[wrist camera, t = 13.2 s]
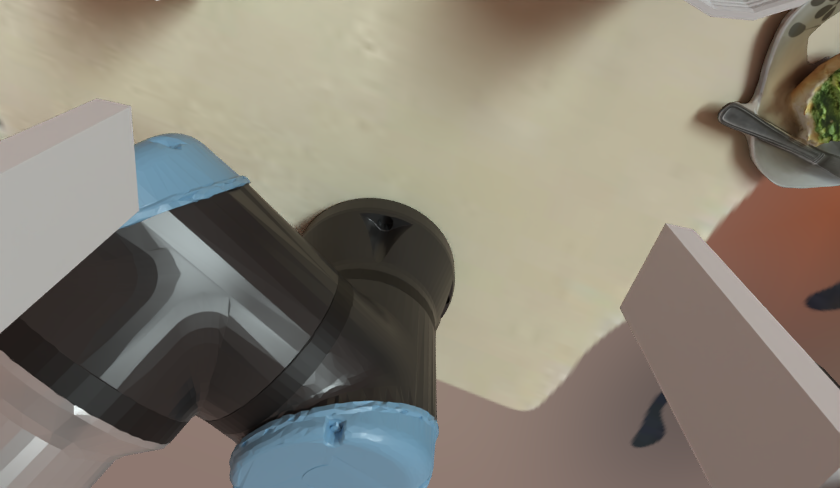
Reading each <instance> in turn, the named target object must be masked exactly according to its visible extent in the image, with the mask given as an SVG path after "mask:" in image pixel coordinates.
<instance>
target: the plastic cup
mask: <svg viewBox="0 0 840 488" xmlns="http://www.w3.org/2000/svg"><path fill="white" fill-rule="evenodd" d="M684 1H686V2H688V3H689V4H691V5H692V6H694V7H696V8H697V9H699V10H701V11H702V12H704V13H705V14H707V15H709V16H710V17H720V18H732V19H743V20H756V19H759V18H763V17H766V16H769V15H773V14H776V13H779V12H783V11H786V10H789V9H793V8H796V7H799V6H801V5H803V4H804V3H806V2H807V1H809V0H684Z"/></svg>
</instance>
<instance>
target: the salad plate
mask: <svg viewBox="0 0 840 488" xmlns="http://www.w3.org/2000/svg"><path fill="white" fill-rule="evenodd" d="M839 11H840V0H809V1H807V2H806V3H804V4H803V5H801V6H799V7H796V8H793V9H792V10H791V11H790V12H789V13H787V14H786V15H785V17H784V18H783V19H782V21H781V23H780V25H779V27H778V29H777V31H776V33H775V35H774V38H773V40H772V42H771V44H770V46H769V49H768V52H767V54H766V57H765V60H764V63H763V66H762V69H761V73H760V78H759V82H758V85H757V87H756V90H755V93H754V95H753V97H752V99H751V101H750V102H749V103H747V104H741V103H739V102H730V103H728V104H726V105H725V106H724V107H723V108H722V109H721V110H720V112H719V113H718V121H719V122H720V123H721V124H723V125H725V126H727V127H730V128H732V129H735V130H737V131H740V132H741V133H743V134H745V136H746V138H747V141H748V145H749V151H750V156H751V160H752V161H753V163H754V164H755V165H756V166H757V168H758V169H759V170H760V172H761V173H762V174H763V175H764V176H765V177H767V178H768V179H769V180H770V181H771V182H773V183H774V184H776V185H778V186H781V187H789V188H812V187H826V186H839V185H840V54H838V55H835V56H834V57H832V58H829V57H826V58H823V59H822V60H820V61H819V62H817V63H815V64H809V62H808V61H807V44H808V38H809V36H810V35H811V34H812V33H813V32H814V31H815V30H816V29H817V28H818V27H819V26H820V25H821V24H822V23H824V22H825V21H826V20H827V19H829V18H830V17H832V16H833V15H835V14H836V13H838V12H839Z"/></svg>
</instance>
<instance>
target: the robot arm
mask: <svg viewBox="0 0 840 488" xmlns="http://www.w3.org/2000/svg"><path fill="white" fill-rule="evenodd" d="M249 183H251V182H250V181H249V179H248V178H247V177H245V176H239V175H238V174H237V173H236V172H235V171H233V170H232V169H231V168H230V167H229V166H228V165H227V164H225V163H224V162H223V161H222V160H221V159H220V158H218V157H217V156H216V155H215V154H214V153H213V152H212V151H211V150H209V149H208V148H207V147H206V146H205V145H204V144H203V143H201V142H200V141H198V140H197V139H195V138H193V137H190V136H188V135H184V134H178V133H168V134H162V135H158V136H154V137H151V138H149V139H146V140H144V141H141V142H139V143H137V144H135V145H134V138H133V125H132V112H131V106H129V105H125V104H120V103H115V102H111V101H106V100H102V99H97V98H96V99H94V100H92V101H89V102H87V103H85V104H83V105H80V106H78V107H76V108H74V109H71V110H69V111H67V112H65V113H62V114H60V115H58V116H56V117H53V118H51V119H49V120H47V121H44V122H42V123H40V124H38V125H35V126H33V127H31V128H29V129H26V130H24V131H22V132H20V133H17V134H15V135H13V136H10V137H8V138H6V139H4V140H1V141H0V488H91V487H92V486H93V485H94V484H95V482H96V481H97V480H98V479H99V478H100V477H101V476H102V474H103V473H104V472H105V471H106V470H107V469H108V468H109V467H110V466H111V464H113V462H114V461H115V460H117V459H119V458H121V457H124V456H127V455H133V454H138V453H143V452H149V451H154V450H159V449H163V448H165V446H166V445H168V444H169V443H170V442H171V441H172V440H173V439H174V438H175V436H176V435H177V434H178V433H179V432H180V431H181V429H182V428H183V427H184V426H185V425H186V424H187V423H188V422H189V420H190V419H191V418H192V417H194V416H195V415H196V416H198V417H200V418H201V419H203V420H205V421H206V422H208V423H209V424H211V425H212V426H214V427H215V428H216V429H218V430H219V431H221V432H222V433H223V434H225V435H226V436H228V437H229V438H230V439H232V440H233V441H234V442H235V443H236V444H237V445H236V447H235V449H234V451H233V452H232V455H231V458H230V462H229V463H230V468H231V470H230V481H231V483H232V485H233V488H427V486H428V484H429V481H430V478H431V476H432V471H433V465H434V451H435V442H436V439H437V437H438V434H439V427H438V424H437V415H436V412H437V411H436V330H437V328H438V326H439V324H440V321H441V318H442V317H443V315H444V314H445V312H446V310H447V308H448V307H449V304H450V302H451V299H452V296H453V291H454V285H455V272H454V260H453V255H452V251H451V248H450V246H449V244H448V242H447V240H446V238H445V236H444V235H443V233H442V232H441V231H440V229H439V228H438V227H437V226H436V225H435V224H434V223H433V222H432V221H431V220H430V219H428V218H427V217H426V216H424V215H423V214H422V213H420V212H418V211H417V210H415V209H413V208H411V207H409V206H406V205H404V204H401V203H398V202H395V201H390V200H385V199H376V198H364V199H355V200H350V201H346V202H343V203H340V204H337V205H335V206H333V207H331V208H329V209H327V210H325V211H324V212H322V213H321V214H320V215H318V216H317V217H316V218H315V219H314V220H313V221H312V222H311V223H310V224H309V225H308V227H307V228H306V229H305V231H304V233H303V234H302V236H301V235H300V234H299V233H298V232H297V231H296V230H295V229H294V228H293V227H292V226H291V225H290V224H289V223H288V222H287V221H286V220H285V219H284V218H283V217H281V216H280V215H279V214H278V213H277V212H276V211H275V210H274V209H273V208H272V207H271V206H270V205H269V204H268V203H267V202H266V201H265V200H264V199H263V198H262V197H261V196H260V195H259V194H258V193H257V192H256V191H255V190H254V189H253V188H252V187H251V186H250V185H249ZM620 309H621V311H622V313H623V315H624V317H625V319H626V321H627V323H628V325H629V327H630V329H631V331H632V333H633V335H634V337H635V339H636V341H637V342H638V344H639V347H640V349H641V350H642V352H643V354H644V356H645V358H646V360H647V362H648V364H649V366H650V368H651V370H652V372H653V374H654V376H655V378H656V380H657V382H658V384H659V386H660V388H661V390H662V392H663V394H664V396H665V398H666V400H667V402H668V404H669V406H670V408H671V410H672V412H673V414H674V416H675V418H676V419H677V421H678V423H679V425H680V427H681V429H682V431H683V433H684V435H685V437H686V439H687V441H688V443H689V445H690V447H691V449H692V451H693V453H694V455H695V457H696V459H697V461H698V463H699V464H700V467H701V469H702V471H703V473H704V475H705V477H706V478H707V481H708V482H709V484H710V486H711V488H840V386H839V385H838V384H837V382H836V381H835V380H834V379H833V378H832V377H831V376H830V375H829V374H828V373H827V372H826V371H825V369H823V368H822V367H821V366H819V365H818V364H817V363H816V362H814V361H813V360H812V359H811V358H810V356H809V355H808V354H807V353H806V352H805V351H804V350H803V349H802V348H801V347H800V345H799V344H798V343H797V342H796V341H795V340H794V339H793V338H792V337H791V336H790V334H788V332H787V331H786V330H785V329H784V328H783V327H782V326H781V325H780V324H779V322H778V321H777V320H776V319H775V318H774V317H773V316H772V315H771V314H770V313H769V311H767V309H766V308H765V307H764V306H763V305H762V304H761V303H760V302H759V300H758V299H757V298H756V297H755V296H754V295H753V294H752V293H751V292H750V291H749V290H748V288H747V287H746V286H745V285H744V284H743V283H742V282H741V281H740V280H739V279H738V277H737V276H736V275H735V274H734V273H733V272H732V271H731V270H730V269H729V268H728V267H727V265H725V263H724V262H723V261H722V260H721V259H720V258H719V257H718V255H717V254H716V253H715V252H714V251H713V250H712V249H711V248H710V247H709V246H708V244H707V243H706V242H705V241H704V240H703V239H702V238H701V237H700V236H699V235H698V234H697V232H696V231H695V230H694V229H689V228H685V227H680V226H676V225H671V224H667V223H665V225H664V227H663V229H662V231H661V233H660V235H659V236H658V238H657V240H656V242H655V244H654V246H653V247H652V249H651V251H650V253H649V255H648V257H647V258H646V260H645V262H644V264H643V266H642V268H641V269H640V271H639V273H638V275H637V277H636V279H635V281H634V282H633V284H632V286H631V288H630V290H629V292H628V293H627V295H626V297H625V299H624V301H623V303H622V304H621V306H620Z"/></svg>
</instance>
